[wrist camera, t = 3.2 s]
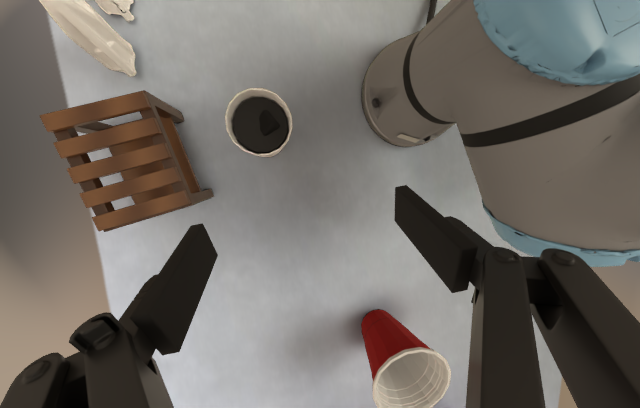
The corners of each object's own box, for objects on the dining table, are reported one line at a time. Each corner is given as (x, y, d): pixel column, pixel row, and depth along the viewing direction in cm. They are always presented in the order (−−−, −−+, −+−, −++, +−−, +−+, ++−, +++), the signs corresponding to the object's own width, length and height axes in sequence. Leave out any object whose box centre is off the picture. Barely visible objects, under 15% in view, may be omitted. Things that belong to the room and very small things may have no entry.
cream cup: (269, 103, 32) (264, 73, 22) (297, 142, 33) (305, 130, 24) (231, 131, 32) (209, 113, 22) (262, 169, 33) (254, 169, 23)
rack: (181, 112, 30) (140, 87, 21) (214, 196, 32) (190, 205, 24) (110, 129, 29) (37, 112, 20) (149, 216, 31) (99, 233, 23)
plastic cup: (335, 340, 39) (358, 412, 28) (365, 287, 39) (402, 337, 27) (384, 359, 42) (425, 433, 30) (413, 310, 41) (466, 365, 30)
